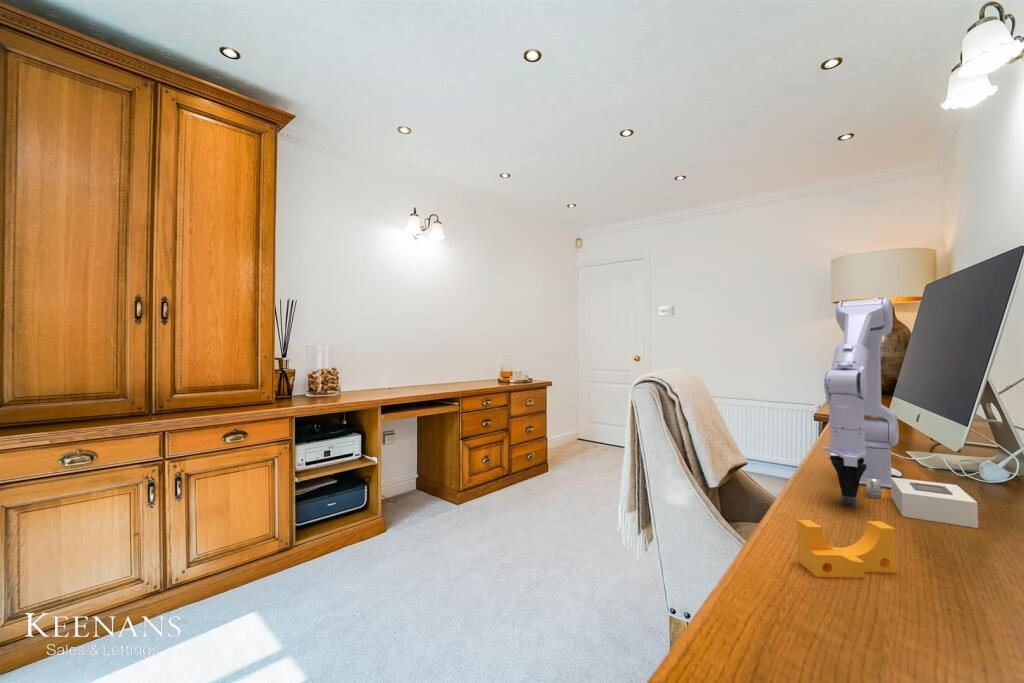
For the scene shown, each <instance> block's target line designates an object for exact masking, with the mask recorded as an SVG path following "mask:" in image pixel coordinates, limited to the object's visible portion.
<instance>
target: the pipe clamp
mask: <svg viewBox="0 0 1024 683" xmlns="http://www.w3.org/2000/svg"><path fill="white" fill-rule="evenodd" d="M796 530H797V533H796V534H797V562H798V563H799V564H800V565H801V564H802V566H803V567H804V568H805V569H806V568H807V569H806V570H808V571H809V572H810V573H811V574H812V575H814V576H815V577H816V578H838V579H839V578H843V579H844V578H846V579H847V578H848V579H865V577H866V576H865V573H887V574H888V573H891V574H897V558H896V556H897V555H896V529H895V527H892V526H890V525H889V524H887V523H885V522H883V521H880V520H879V521H877V520H876V521H874V520H867V521H866V527H865V530H864V532H863V535H862V537H861V538H860V539H858V541H856V542H855V543H854V544H853V543H852V544H851V545H848V546H844V547H838V546H837V547H836V546H831V545H829V544H828V542H827V540H826V539H825V537H824V533H823V528H822V526H821V525H819V524H818V523H816V522H814V521H813V520H811V519H797V520H796Z"/></svg>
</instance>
